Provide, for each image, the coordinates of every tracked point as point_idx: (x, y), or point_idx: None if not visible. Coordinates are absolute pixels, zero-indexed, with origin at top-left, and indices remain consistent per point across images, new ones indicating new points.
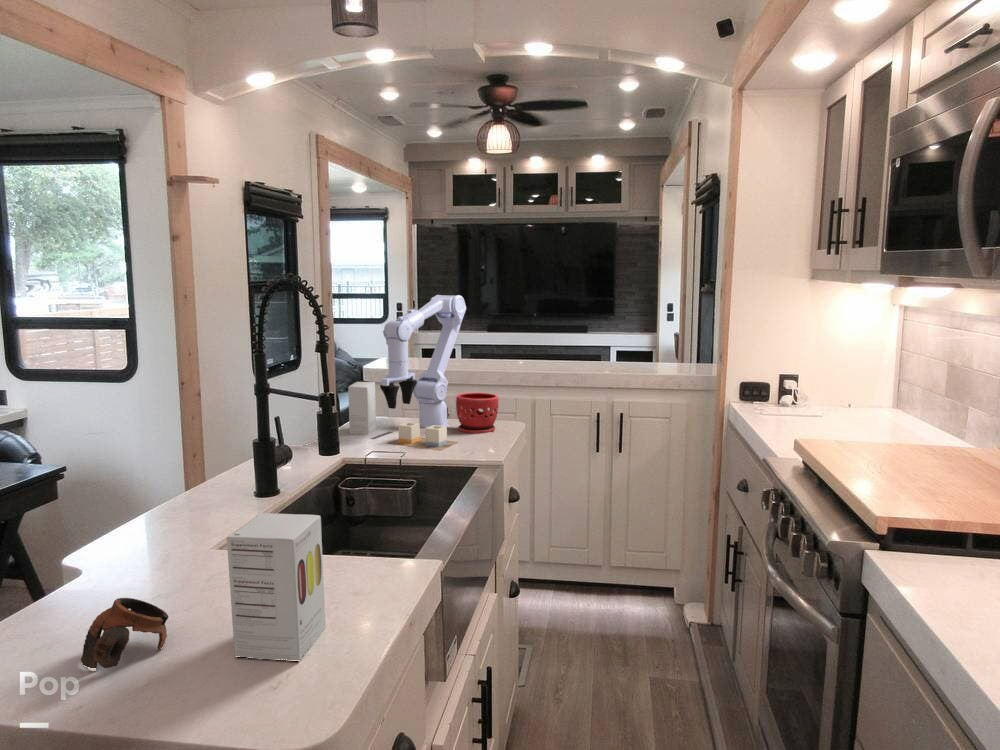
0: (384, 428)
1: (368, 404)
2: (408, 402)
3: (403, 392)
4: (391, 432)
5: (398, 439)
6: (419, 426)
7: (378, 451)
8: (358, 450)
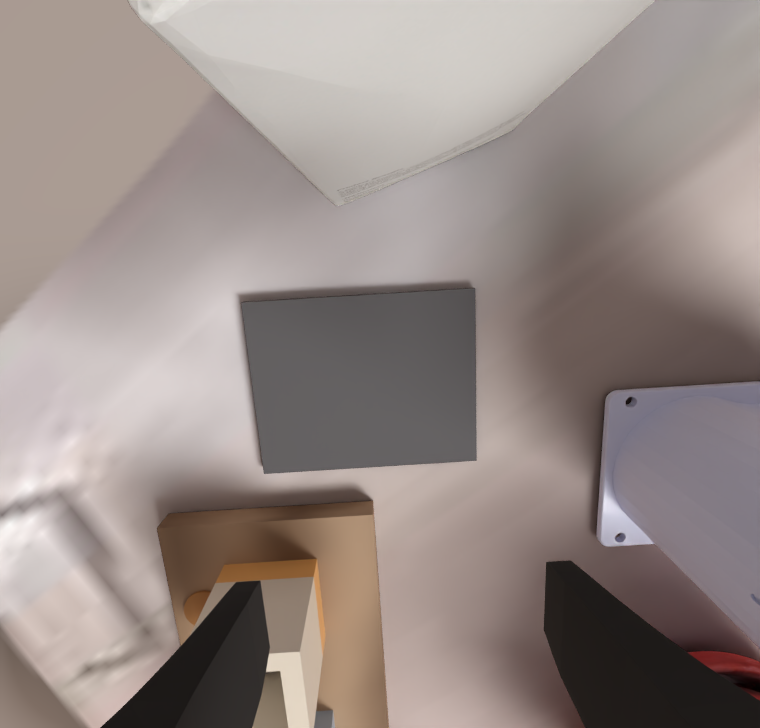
0: (578, 158)
1: (313, 153)
2: (550, 644)
3: (639, 701)
4: (459, 321)
5: (270, 527)
6: (312, 721)
7: (80, 522)
8: (18, 412)
